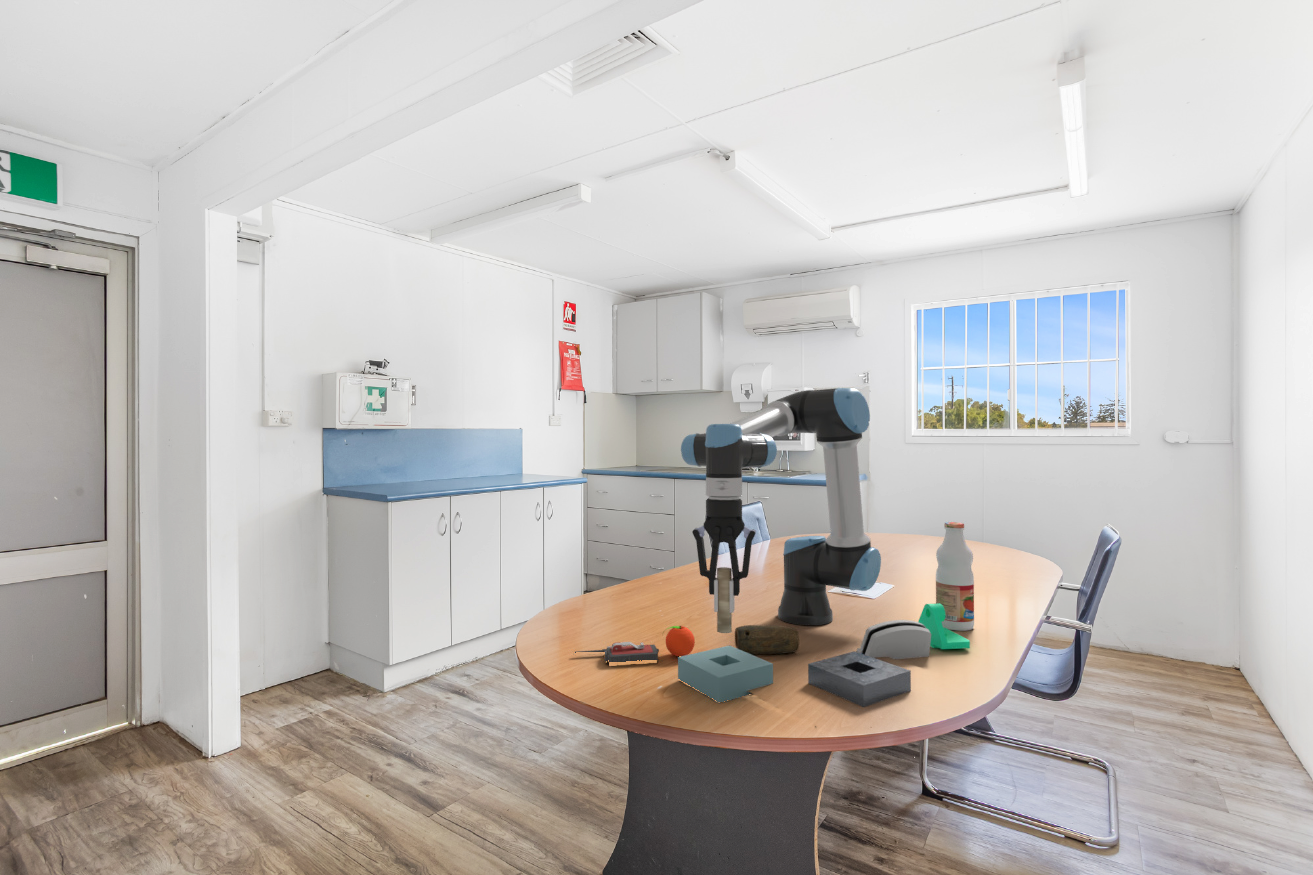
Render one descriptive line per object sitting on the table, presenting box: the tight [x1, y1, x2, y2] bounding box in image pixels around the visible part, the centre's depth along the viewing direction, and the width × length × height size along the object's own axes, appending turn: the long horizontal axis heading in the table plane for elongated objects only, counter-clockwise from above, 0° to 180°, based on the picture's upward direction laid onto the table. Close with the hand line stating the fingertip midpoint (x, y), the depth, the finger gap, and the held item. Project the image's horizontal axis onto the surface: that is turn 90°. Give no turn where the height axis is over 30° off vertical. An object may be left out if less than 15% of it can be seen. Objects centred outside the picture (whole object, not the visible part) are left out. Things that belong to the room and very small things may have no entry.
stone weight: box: [734, 624, 800, 655], centre depth 154 cm, size 15×7×7 cm, turn 97°
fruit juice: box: [935, 521, 975, 632], centre depth 175 cm, size 9×9×28 cm
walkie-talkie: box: [574, 641, 660, 662], centre depth 150 cm, size 9×4×20 cm
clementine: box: [662, 625, 696, 657], centre depth 152 cm, size 8×7×7 cm
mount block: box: [807, 650, 912, 708], centre depth 130 cm, size 14×14×5 cm
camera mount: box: [917, 603, 971, 650], centre depth 160 cm, size 12×8×10 cm, turn 7°
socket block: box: [677, 645, 774, 703], centre depth 134 cm, size 14×14×5 cm
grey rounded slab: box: [856, 619, 931, 660], centre depth 150 cm, size 17×5×10 cm, turn 103°
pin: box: [716, 566, 733, 634], centre depth 134 cm, size 3×3×13 cm
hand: (724, 610), depth 134 cm, fingers closed on pin, 2 cm apart
